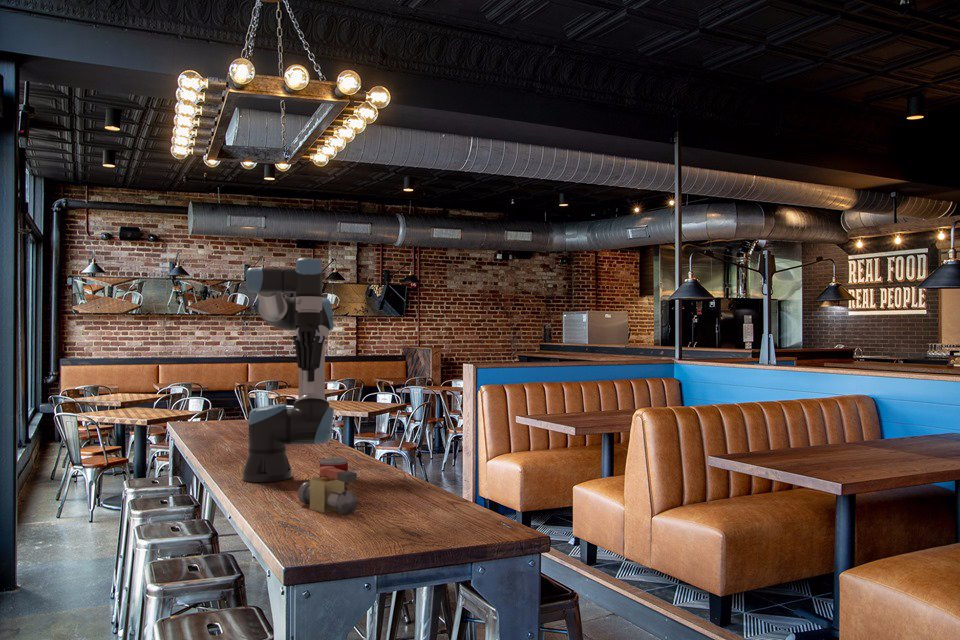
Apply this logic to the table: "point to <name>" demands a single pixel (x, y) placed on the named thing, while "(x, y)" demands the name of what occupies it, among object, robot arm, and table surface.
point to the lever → (338, 474)
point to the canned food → (336, 466)
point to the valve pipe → (327, 496)
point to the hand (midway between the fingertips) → (308, 392)
